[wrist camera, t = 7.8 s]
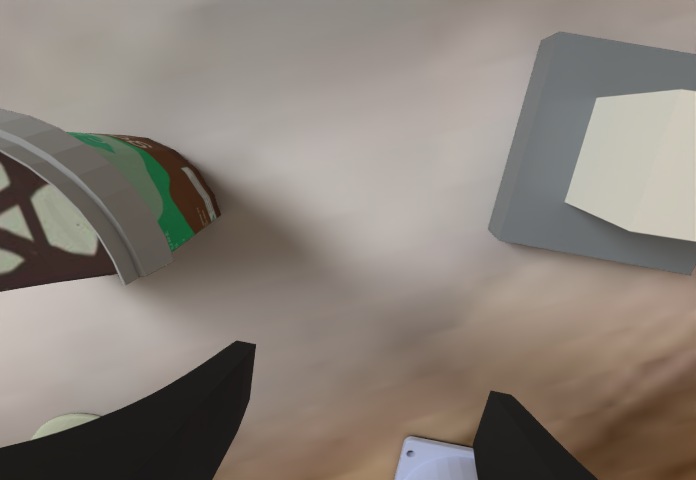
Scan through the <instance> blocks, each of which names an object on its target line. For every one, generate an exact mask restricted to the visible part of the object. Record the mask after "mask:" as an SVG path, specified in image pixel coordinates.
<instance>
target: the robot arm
mask: <svg viewBox="0 0 696 480" xmlns="http://www.w3.org/2000/svg"><path fill="white" fill-rule="evenodd" d="M255 349H256V344H251V343H246V342H241V341H235V342H234V343H232V344H231V345H229V346H228V347H226V348H225V349H223V350H222V351H220V352H219V353H218V354H216V355H215V356H213V357H212V358H210V359H209V360H207V361H206V362H204V363H203V364H201V365H200V366H198V367H197V368H195V369H194V370H192V371H191V372H189V373H188V374H186V375H184V376H183V377H181V378H179V379H178V380H176V381H174V382H173V383H171V384H169V385H168V386H166V387H164V388H162V389H161V390H159V391H157V392H155V393H153V394H151V395H149V396H147V397H145V398H143V399H141V400H139V401H137V402H135V403H133V404H130V405H128V406H126V407H124V408H122V409H119V410H117V411H114V412H112V413H109V414H107V415H104V416H101V417H99V418H96V419H94V420H91V421H89V422H86V423H84V424H81V425H78V426H75V427H72V428H69V429H66V430H63V431H60V432H57V433H53V434H50V435H47V436H44V437H40V438H37V439H33V440H30V441H26V442H22V443H18V444H14V445H10V446H6V447H2V448H0V480H212V479H213V477H214V475H215V473H216V471H217V470H218V468H219V466H220V464H221V462H222V460H223V458H224V456H225V454H226V452H227V451H228V449H229V447H230V445H231V443H232V441H233V439H234V437H235V435H236V433H237V431H238V429H239V426H240V424H241V421H242V419H243V416H244V413H245V411H246V408H247V405H248V403H249V400H250V391H251V383H252V374H253V366H254V358H255ZM409 450H412V451H413V452H408V451H409ZM394 480H598V479H597V478H596V477H595V476H593V475H592V474H591V473H590V472H589V471H588V470H587V469H586V468H585V467H584V466H583V465H581V464H580V463H579V462H578V461H577V460H576V459H575V458H574V457H573V456H572V455H571V454H570V453H569V452H568V451H567V450H566V449H565V448H564V447H563V446H562V445H561V444H560V443H559V442H558V441H557V440H556V439H555V438H554V437H553V436H552V435H551V434H550V433H549V432H548V431H547V430H546V429H545V428H544V427H543V426H542V425H541V424H540V423H539V422H538V421H537V420H536V419H535V418H534V417H533V416H532V415H531V414H530V413H529V412H528V411H527V410H526V409H525V408H524V407H523V406H522V405H521V404H520V403H519V402H518V401H517V400H516V399H515V398H514V397H513V396H512V395H510V394H505V393H500V392H495V391H490V394H489V397H488V400H487V403H486V406H485V409H484V412H483V415H482V418H481V421H480V424H479V427H478V430H477V433H476V436H475V439H474V442H473V448H469V447H464V446H459V445H454V444H449V443H444V442H439V441H434V440H429V439H424V438H418V437H412V436H410V437H407V438H406V439H405V441H404V443H403V447H402V451H401V455H400V459H399V463H398V466H397V470H396V474H395V478H394Z"/></svg>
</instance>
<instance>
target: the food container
mask: <svg viewBox="0 0 696 480" xmlns="http://www.w3.org/2000/svg"><path fill="white" fill-rule="evenodd" d="M219 216H221V214H220V211H219V208H218V205H217V202H216V199H215V197H214V194H213V193H212V191H211V190H210V188H209V187H208V185H207V184H206V182H205V181H204V179H203V178H202V176H201V175H200V173H199V172H198V170H197V169H196V168H195V167H193V166H192V165H191V164H190V163H189V162H188V161H186V160H185V159H184V158H183V157H182V156H181V155H179V154H178V153H177V152H176V151H175V150H173V149H171V148H169V147H166V146H164V145H162V144H160V143H157V142H155V141H153V140H151V139H149V138H142V137H135V136H127V135H109V134H92V133H74V132H65V131H63V130H62V129H60V128H58V127H56V126H53V125H51V124H48V123H46V122H44V121H41V120H39V119H36V118H34V117H31V116H28V115H24V114H20V113H16V112H12V111H8V110H4V109H0V292H2V291H7V290H13V289H18V288H25V287H31V286H37V285H44V284H50V283H56V282H63V281H71V280H78V279H85V278H92V277H99V276H107V275H113V274H118V275H119V277H120V280H121V282H122V284H123V286H124V285H127V284H129V283H130V282H132V281H134V280H135V279H137V278H138V277H145V276H147V275H149V274H151V273H153V272H155V271H156V270H158V269H160V268H162V267H164V266H166V265H168V264H170V263H171V262H173V261H175V260H174V257H173V255H172V252H173V251H174V250H175V249H177V248H178V247H179V246H181V245H182V244H183V243H185V242H186V241H187V240H189V239H190V238H191V237H193V236H194V235H195V234H197V233H198V232H199V231H201V230H202V229H203V228H205V227H206V226H207V225H209V224H210V223H211V222H213V221H214V220H215V219H217V218H218V217H219Z"/></svg>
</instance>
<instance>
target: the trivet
mask: <svg viewBox="0 0 696 480" xmlns="http://www.w3.org/2000/svg"><path fill="white" fill-rule="evenodd" d="M679 89H683V90H690V91H696V54H691V53H685V52H679V51H673V50H667V49H661V48H655V47H649V46H643V45H637V44H631V43H625V42H619V41H613V40H607V39H601V38H595V37H589V36H583V35H577V34H571V33H565V32H558V33H556V34H554V35H552V36H550V37H548V38H546V39H544V40H542V41H541V43H540V46H539V50H538V53H537V57H536V60H535V64H534V67H533V71H532V75H531V78H530V82H529V85H528V89H527V92H526V96H525V99H524V103H523V106H522V110H521V114H520V117H519V121H518V124H517V128H516V131H515V135H514V138H513V142H512V146H511V149H510V153H509V156H508V160H507V163H506V167H505V170H504V174H503V177H502V181H501V185H500V188H499V192H498V195H497V199H496V202H495V206H494V209H493V213H492V216H491V220H490V224H489V227H488V230H489V231H490V232H491V233H492V234H493V235H494V236H495V237H496V238H497V239H498V240H499V241H505V242H510V243H516V244H521V245H527V246H532V247H538V248H543V249H549V250H554V251H560V252H565V253H571V254H576V255H582V256H587V257H593V258H598V259H604V260H609V261H614V262H620V263H625V264H631V265H636V266H642V267H647V268H653V269H658V270H664V271H669V272H675V273H680V274H686V275H691V274H692V271H693V269H694V267H695V265H696V241H689V240H683V239H676V238H670V237H663V236H657V235H651V234H644V233H638V232H631V231H628V230H626V229H624V228H621V227H619V226H617V225H615V224H612V223H610V222H608V221H606V220H604V219H601V218H599V217H597V216H595V215H592V214H590V213H588V212H586V211H584V210H581V209H579V208H577V207H575V206H572V205H570V204H568V203H566V202H565V199H566V196H567V193H568V190H569V186H570V183H571V180H572V177H573V173H574V170H575V167H576V164H577V160H578V157H579V154H580V151H581V147H582V144H583V141H584V138H585V134H586V131H587V128H588V125H589V121H590V118H591V115H592V112H593V108H594V105H595V102H596V99H597V98H600V97H610V96H620V95H630V94H639V93H649V92H659V91H669V90H679Z"/></svg>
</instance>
